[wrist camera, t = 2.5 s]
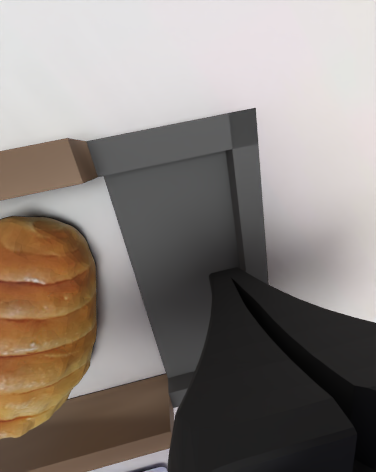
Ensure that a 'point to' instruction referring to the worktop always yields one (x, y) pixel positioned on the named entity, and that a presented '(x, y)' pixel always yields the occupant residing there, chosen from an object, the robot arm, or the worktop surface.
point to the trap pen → (186, 222)
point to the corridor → (96, 404)
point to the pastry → (42, 318)
